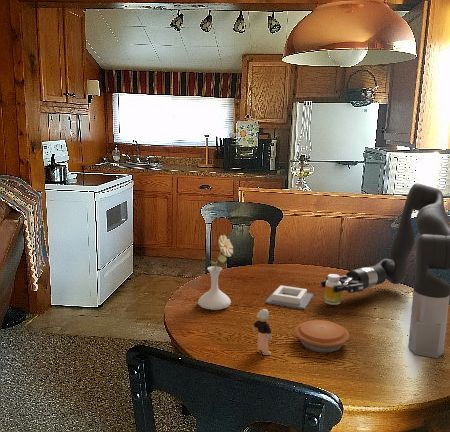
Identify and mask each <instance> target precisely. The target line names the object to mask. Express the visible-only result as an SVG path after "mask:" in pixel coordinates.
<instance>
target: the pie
mask: <svg viewBox="0 0 450 432" xmlns="http://www.w3.org/2000/svg"><path fill="white" fill-rule="evenodd" d="M294 333H295V335H296V336H297V338H298V339H299V340H300V342H301V343H302V346H304V348H306V349H308V350H310V351H313V352H316V351H317V352H318V353H333V351H334V352H336V351H339V349H341V348H342V347H343V345H344V344H345V343H346V342H347V341H348V340H349V338H350V332H349V331H348V330H347V328H346V327H343V325H339V324H337V323H335V322H332V321H329V320H323V319H313V320H308V321H304V322H300V324H297V326H296V327H295V329H294ZM317 352H316V353H317Z"/></svg>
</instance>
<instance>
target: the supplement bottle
mask: <svg viewBox="0 0 450 432" xmlns="http://www.w3.org/2000/svg"><path fill="white" fill-rule="evenodd" d="M327 276H328V280H327V281H326V284H325V287H324V288H325V289H324V302H325V303H326V304H328V305H335V306H337V305H339V304H341V301H342V300H341V297H342V295H341V294H342V291H341V292H337V293H335V292H333V289H334V286H337V285H341V282H340V281H339V280H340V276H341V275H339V274H337V273H329V274H328V275H327Z"/></svg>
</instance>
